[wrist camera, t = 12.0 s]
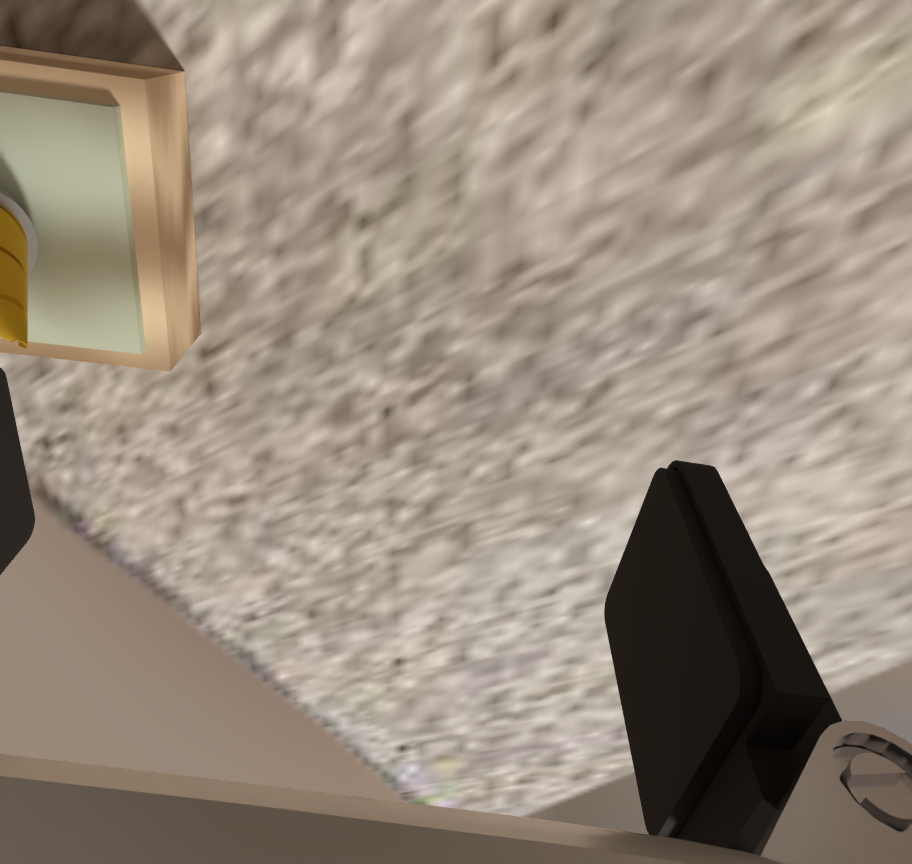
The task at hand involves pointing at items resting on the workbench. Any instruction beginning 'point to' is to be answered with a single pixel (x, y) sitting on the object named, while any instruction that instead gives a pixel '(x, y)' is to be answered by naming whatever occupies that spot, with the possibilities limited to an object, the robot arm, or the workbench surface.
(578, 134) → the workbench surface
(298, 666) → the workbench surface
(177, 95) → the base block
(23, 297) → the drill bit
